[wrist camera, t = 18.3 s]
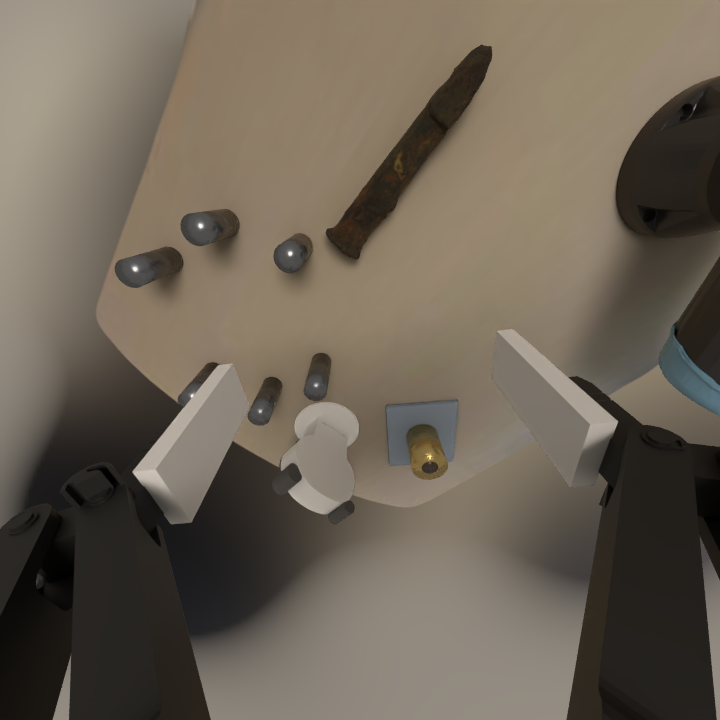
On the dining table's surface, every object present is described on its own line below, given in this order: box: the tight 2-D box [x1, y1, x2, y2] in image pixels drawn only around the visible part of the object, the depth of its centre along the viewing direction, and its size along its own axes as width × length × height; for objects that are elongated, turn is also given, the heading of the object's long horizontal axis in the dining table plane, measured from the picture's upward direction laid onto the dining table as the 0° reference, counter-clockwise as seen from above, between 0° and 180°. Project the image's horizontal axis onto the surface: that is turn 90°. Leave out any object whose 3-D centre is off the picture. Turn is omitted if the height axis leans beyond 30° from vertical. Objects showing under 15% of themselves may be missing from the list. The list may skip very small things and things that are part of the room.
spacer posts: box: [115, 209, 331, 425], centre depth 39 cm, size 20×27×8 cm
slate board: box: [386, 400, 458, 466], centre depth 54 cm, size 12×14×1 cm
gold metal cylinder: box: [406, 424, 448, 480], centre depth 50 cm, size 6×6×7 cm
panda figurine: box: [272, 402, 359, 524], centre depth 46 cm, size 12×11×15 cm
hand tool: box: [326, 45, 492, 260], centre depth 32 cm, size 23×5×6 cm, turn 138°
